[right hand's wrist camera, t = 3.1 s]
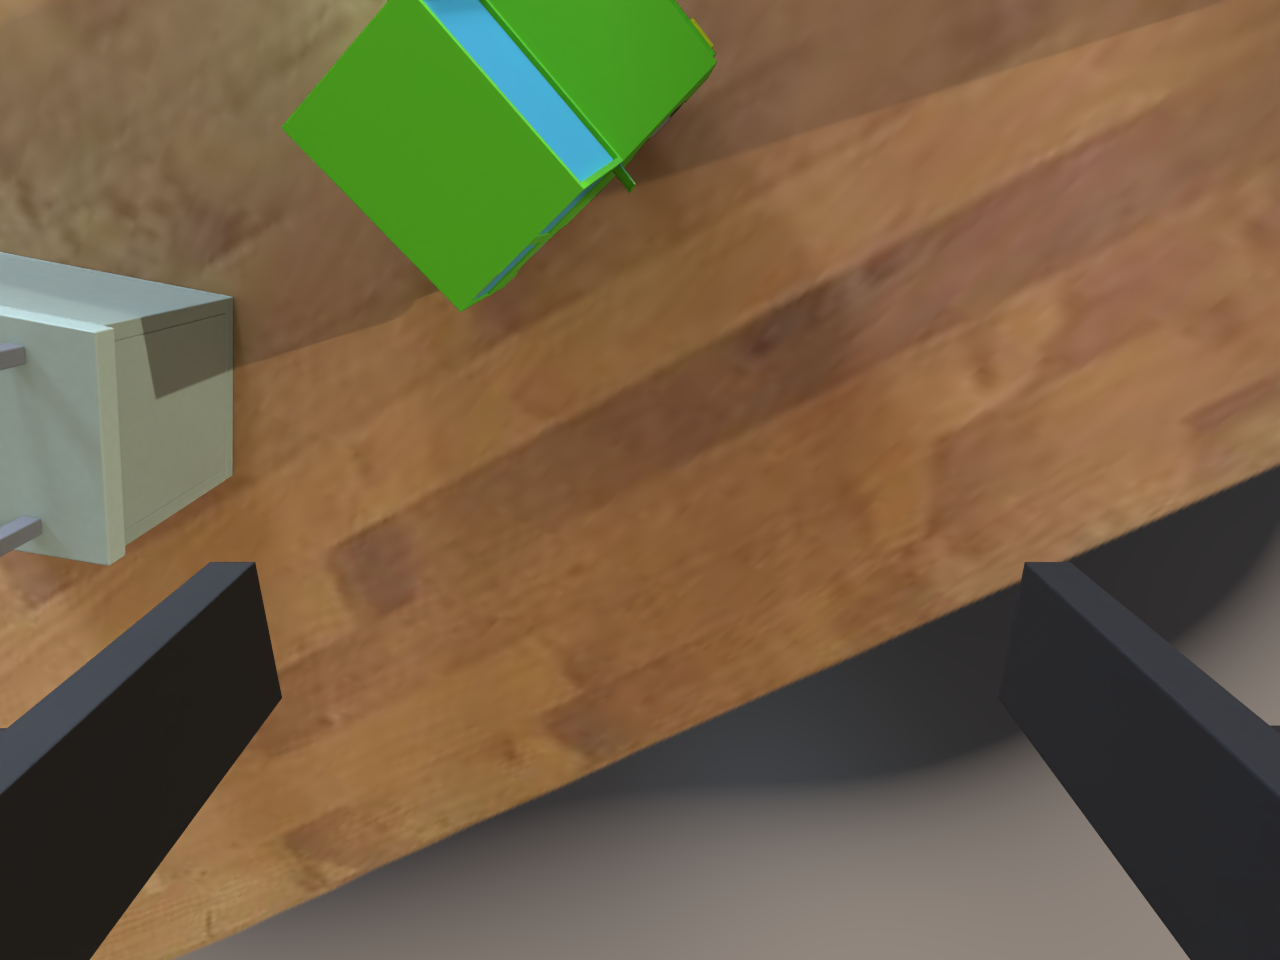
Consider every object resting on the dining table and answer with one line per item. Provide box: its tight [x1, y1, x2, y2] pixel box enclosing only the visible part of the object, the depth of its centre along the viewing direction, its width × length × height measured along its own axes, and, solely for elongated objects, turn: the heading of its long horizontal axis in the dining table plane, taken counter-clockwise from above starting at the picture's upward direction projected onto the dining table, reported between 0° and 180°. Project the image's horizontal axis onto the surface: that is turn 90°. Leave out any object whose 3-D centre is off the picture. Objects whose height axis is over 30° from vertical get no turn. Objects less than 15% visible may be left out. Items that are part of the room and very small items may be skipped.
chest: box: [0, 252, 233, 546], centre depth 33 cm, size 15×10×9 cm, turn 79°
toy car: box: [281, 0, 717, 312], centre depth 29 cm, size 10×13×10 cm
